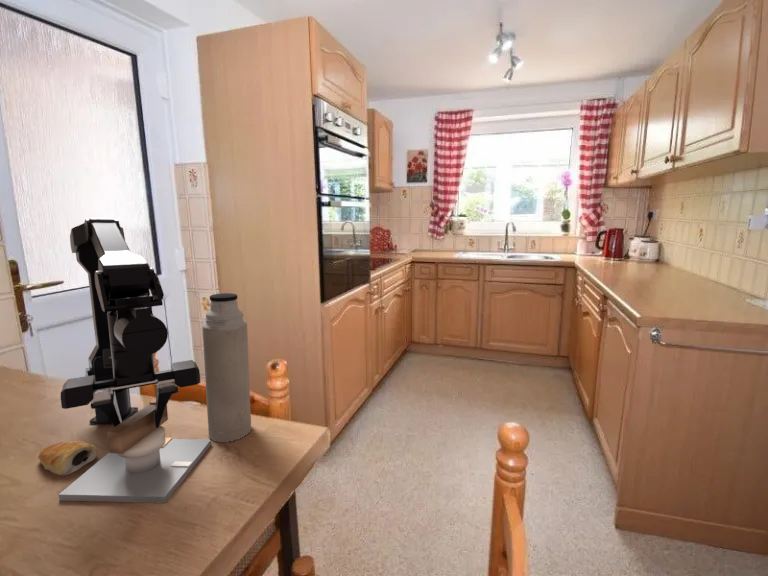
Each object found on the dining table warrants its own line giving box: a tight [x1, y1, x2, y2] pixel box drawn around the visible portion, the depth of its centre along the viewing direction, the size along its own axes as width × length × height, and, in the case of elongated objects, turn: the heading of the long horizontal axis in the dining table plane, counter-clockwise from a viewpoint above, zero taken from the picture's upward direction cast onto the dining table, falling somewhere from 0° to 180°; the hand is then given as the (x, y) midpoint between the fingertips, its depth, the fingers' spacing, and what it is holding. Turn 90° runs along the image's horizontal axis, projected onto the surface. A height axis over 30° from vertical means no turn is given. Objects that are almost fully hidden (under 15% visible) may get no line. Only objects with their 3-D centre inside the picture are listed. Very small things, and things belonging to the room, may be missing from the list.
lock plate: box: [58, 437, 212, 504], centre depth 68 cm, size 16×16×4 cm
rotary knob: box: [106, 397, 169, 458], centre depth 68 cm, size 7×11×6 cm, turn 174°
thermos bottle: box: [201, 292, 252, 443], centre depth 79 cm, size 8×8×28 cm
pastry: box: [37, 439, 99, 476], centre depth 70 cm, size 9×7×4 cm
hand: (140, 430), depth 67 cm, fingers closed on rotary knob, 5 cm apart
